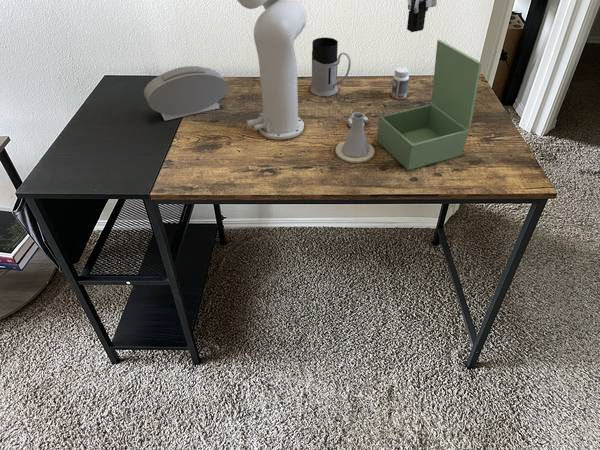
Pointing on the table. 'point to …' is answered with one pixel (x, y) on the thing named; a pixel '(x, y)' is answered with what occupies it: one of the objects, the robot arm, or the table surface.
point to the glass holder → (325, 66)
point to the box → (421, 136)
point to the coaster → (351, 158)
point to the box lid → (455, 83)
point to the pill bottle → (400, 83)
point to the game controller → (351, 120)
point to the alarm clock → (185, 91)
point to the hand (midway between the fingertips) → (415, 29)
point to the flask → (356, 138)
